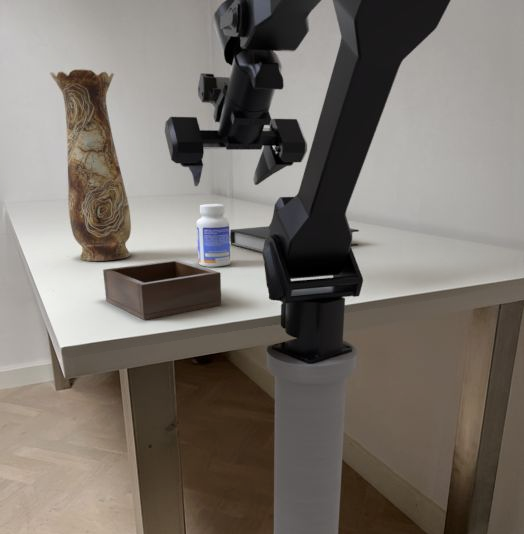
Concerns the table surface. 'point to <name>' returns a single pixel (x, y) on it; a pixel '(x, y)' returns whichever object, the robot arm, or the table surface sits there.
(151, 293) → the box
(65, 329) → the table surface
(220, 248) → the pill bottle
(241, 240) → the book
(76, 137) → the vase
